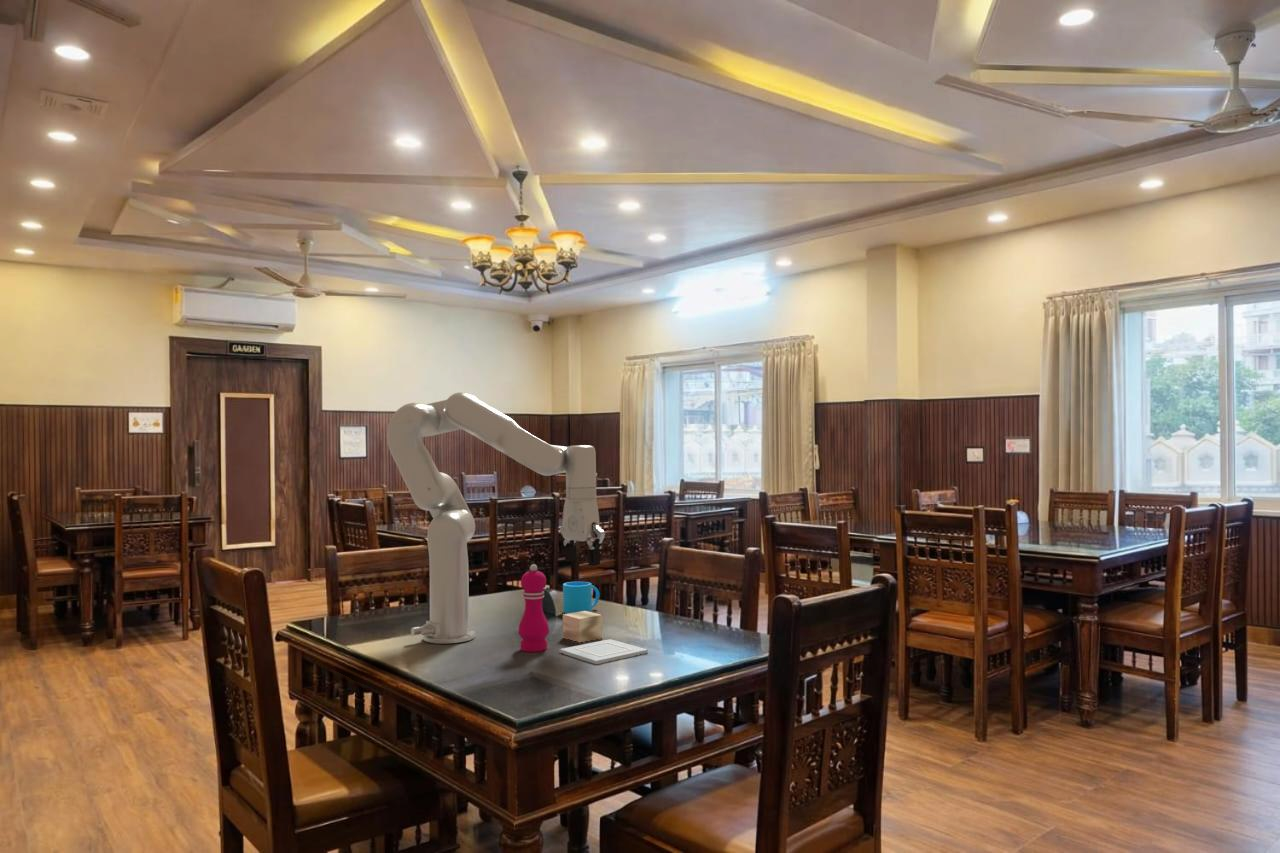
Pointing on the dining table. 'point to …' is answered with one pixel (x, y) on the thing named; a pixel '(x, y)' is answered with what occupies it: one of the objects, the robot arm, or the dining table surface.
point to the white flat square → (603, 651)
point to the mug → (578, 597)
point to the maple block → (582, 626)
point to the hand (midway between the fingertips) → (582, 563)
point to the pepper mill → (533, 612)
